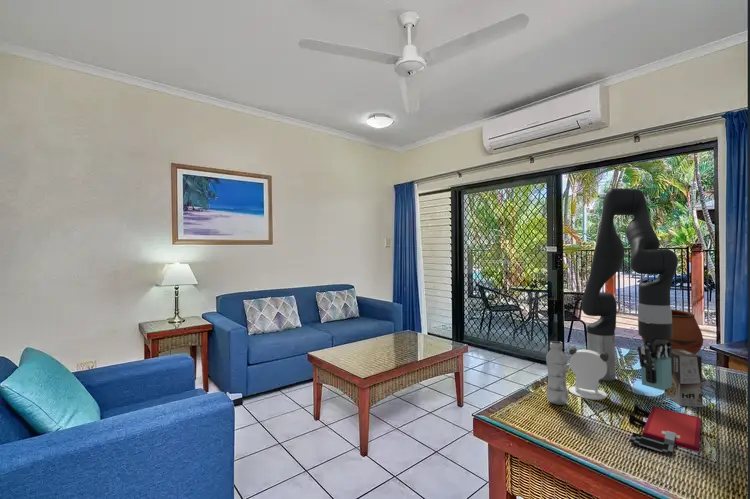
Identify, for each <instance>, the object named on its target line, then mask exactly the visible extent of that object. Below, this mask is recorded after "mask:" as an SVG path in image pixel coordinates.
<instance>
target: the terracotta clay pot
mask: <svg viewBox="0 0 750 499" xmlns="http://www.w3.org/2000/svg"><path fill="white" fill-rule="evenodd" d="M671 312H672V338H671V339H668V340H666V341H667V342H672V349H683V350H686V351H689V352H691V353H694V354H696V355H697V353H699V352H700V350H701V349H702V348H703V345H704V344H703V343H704V337H703V333H702V330H701V328H700V326H699V324H698V322H697V319H696V317H695V314H693V313H692V312H689V311H683V310H676V309H671ZM641 339H642V340H641V341H642V342H643V343H644V341H645V338H644V337H642V336H641Z"/></svg>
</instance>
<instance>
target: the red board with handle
mask: <svg viewBox="0 0 750 499" xmlns="http://www.w3.org/2000/svg"><path fill="white" fill-rule="evenodd" d="M639 413H640V414H643V415H644V416H647V420H646V421H644V420H643V419H640V418H638V417H637V416H635V415H639ZM628 415H629V416H628V420H629V421H628V423H629V424H630V425H634V424H635V423H637V424H638V425H641V426H643V427H644V428H643V430H642V433H641V434H640V433H636V432H633V433H632V435H631V437H630V440H629V442H630V443H631V444H636V445H637V446H638V445H639V446H642V447H646V448H648V449H652V450H654V451H658V452H660V453H664V454H668V455H671V456H672V455H673V451H674V446H677V447H680V448H684V449H687V450H691V451H694V452H698V453H699V452H700V442H701V429H702V428H701V424H702V417H699V416H695V415H690V414H687V413H682V412H678V411H675V410H670V409H666V408H662V407H659V406H654V405H652V406H651V409H650V411H648V410H645V409H643V408H642V407H641V408H640V407H639V404H637V403H634V405H633V413H632V412H629V414H628Z"/></svg>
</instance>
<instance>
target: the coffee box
mask: <svg viewBox="0 0 750 499" xmlns="http://www.w3.org/2000/svg"><path fill="white" fill-rule="evenodd" d="M702 368H703V367H702V356H700V355H699V354H697V353H696V354H694V353H691V352H689V351H686V350H683V349H672V354H671V372H672V387H670V388H668V389H665V390H663V391H664V397H667V398H668V399H669V400H671V401H673V402H675V403H676V404H678V405H679V406H681V407H694V408H703V406H704V405H703V369H702Z"/></svg>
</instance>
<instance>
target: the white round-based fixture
mask: <svg viewBox="0 0 750 499" xmlns="http://www.w3.org/2000/svg"><path fill="white" fill-rule="evenodd" d="M568 353H569V355H570V356H571V357H570V360H569V367H570V370H571V371H572V373H573V374H574V376H575V385H573V386H570V387H569V389H568V391H569V392H570V393H571V394H572V395H574V396H576V397H578V396H579V398H582V399H586V400H593V401H594V400H595V401H596V400H597V401H599V400H604V399H606V398H608V395H607V393H606V392H605V391H603V390H601V389H599V384H600V383H601V382H602V381H603V380H602V378H603V377H604V376H605V375H606V373H607V363H606V361H607V360H608V357H609V356H608V354H607V353H606V352H604V351H603V352H601V354H599V353H597V352H595V351H591V350H587V349H577V348H576V347H574V346H572V347H571V348H570V349H569V352H568Z"/></svg>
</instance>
